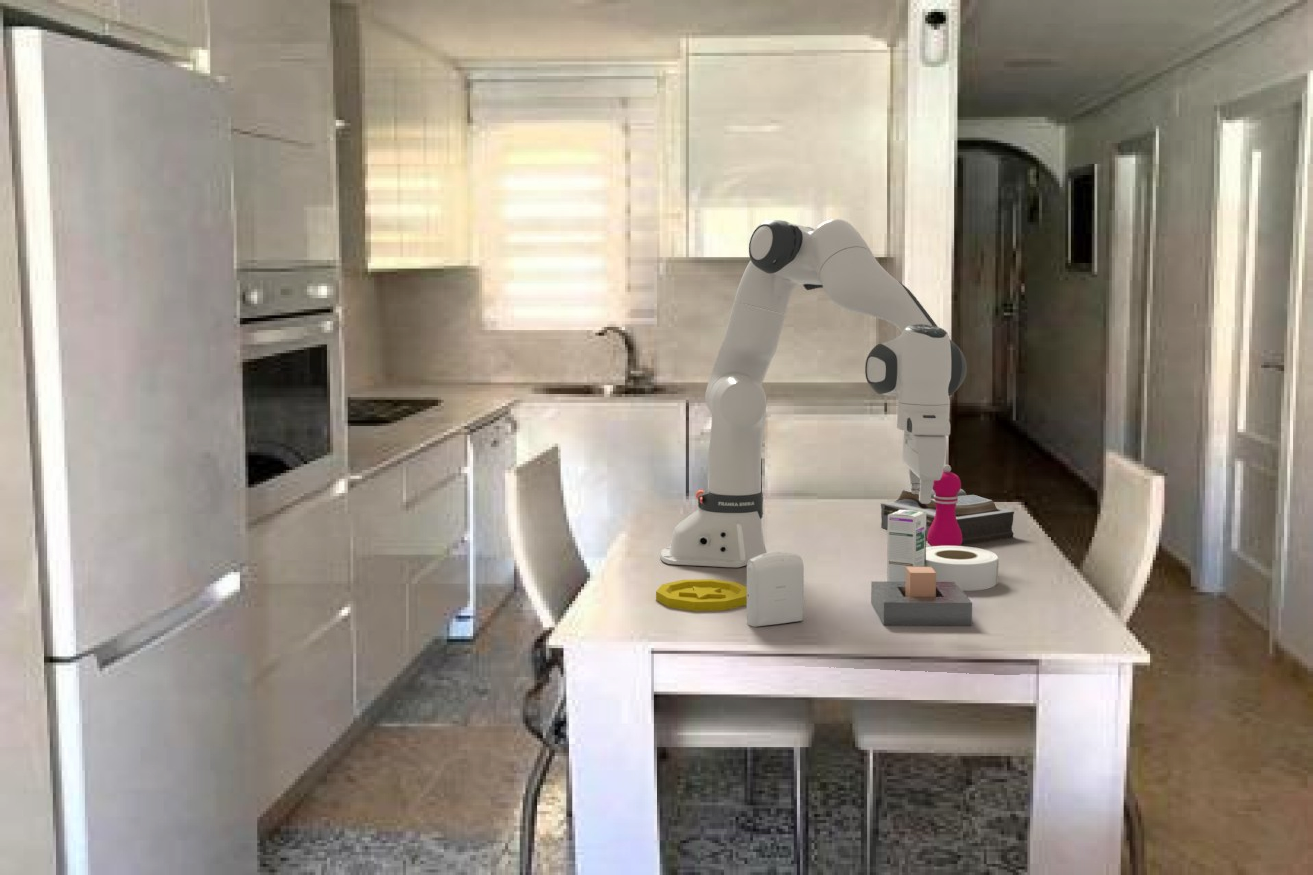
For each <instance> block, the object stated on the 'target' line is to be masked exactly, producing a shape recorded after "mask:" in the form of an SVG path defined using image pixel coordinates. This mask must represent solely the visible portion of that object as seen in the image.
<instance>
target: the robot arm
mask: <svg viewBox="0 0 1313 875" xmlns="http://www.w3.org/2000/svg"><path fill="white" fill-rule="evenodd" d="M748 254H749V260H750V261H749V262H748V264H747V266H746V268H745V269H744V272H743V275H742V276H741V279H740V281H739V284H738V287H737V290H736V293H735V297H734V299H733V303H732V305H731V306H732V307H731V310H730V314H729V317H728V322H727V326H726V330H725V334H724V336H723V340H722V342H721V346H720V348H719V350H718V352H717V356H716V358H715V362H714V365H713V368H712V371H711V373H710V377H709V379H708V383H707V386H706V390H705V396H704V398H705V404H706V407H707V409H708V411H709V412H710V413H711V427H710V440H709V448H708V454H707V456H708V457H707V458H708V460H707V463H708V464H707V465H708V466H707V490H706V491H704V490H703V489H699V490H697V491H696V493H695V497H696V499H697V507H698V509H697V510H694V512H693V513H691V514H690V515H689V516H687V517H685V519H683V520H682V521H680V522H679V523H677V525H676V526H675V528H674V530H673V532H672V535H671V541H670V545H669V546H666V547H664V548H662V550H661V551H660V560H661V561H662V562H663V563H665V564H668V565H676V566H677V565H679V566H701V567H716V568H717V567H720V568H741V567H744V566H745V567H746V566H747V563H748V561H749V560H750V559H752V558H754V557H756V556H758V555H761V554H764V553H768V552H767V549H766V544H765V540H764V539H765V537H764V532H763V524H762V523H763V522H762V520H763V515H764V492H763V491H762V453H763V443H764V437H765V436H764V435H765V427H766V417H767V416H766V415H767V404H768V402H767V401H768V400H767V395H766V392H765V388H764V387H763V383H764V380H765V377H766V374H767V372H768V369H769V368H770V364H771V362H772V360H773V359H774V358H773V357H774V356H775V354H776V352H777V348H778V344H779V341H780V337H781V334H782V330H783V328H784V327H783V326H784V322H785V319H786V315H787V310H788V307H789V302H790V299H791V296H792V293H793V292H794V290H795V289H796V288H798V287H800V286H802V285H803V287H804V289H805V290H806V291H811V290H816V289H821V288H823V289H824V292H825V294H826V295H827V297H828V298H829V299H830V300H831V301H832V302H833V303H834V304H835V305H836V306H837V307H838V308H840V309H842V310H844V311H846V312H849V313H853V314H860V315H865V316H868V317H872V318H873V317H874V318H877V319H880V320H882V321H885V322H888V323H890V324H892V325H893V326H895V327H896V328H897V329H898V330H899V332H901V334H900V335H898V336H897V337H895V338H893V339H891V340H888V341H886V342H882V343H878V344H876V345H874V347H873V348H872V349H871V350H870V351H869V353H868V354H867V357H866V360H865V365H864V366H865V367H864V368H865V370H864V371H865V373H864V374H865V379H866V381H867V383H868V385H869V387H870V388H871V389H872V390H873V391H874V392H876V393H877V394H878V395H883V396H896V397H897V396H898V399H897V417H896V418H897V420H896V421H897V423H896V428H897V429H898V430H900V431H901V430H902V431H903V440H902V463H903V464H904V465H905V466H906V467H907V468H908V477H909V478H908V479H909V490H910V492H911V493H912V494H919V501H920V502H921V503H922V504H929V503H930V502H931V493H932V489H933V484H934V480H940V479H941V477H942V473H943V468H944V465H945V457H946V452H947V451H946V449H947V436H950V435H951V422H950V413H951V412H950V410H951V407H950V404H951V400H950V396H951V395H953V394H954V393H955V392H956V391H958V389H959V388H960V387H961V385H962V384H963V383H964V381H965V378H966V376H967V371H968V366H967V361H966V357H965V356H964V353H963V352H962V350H961V348H960V347H959V346H958V345H957V344H956V343H955V342H954V341H953V340H951V339H950V336H949V333H948V332H947V331H946V330H944V328H942V327H939V326H938V325H937V324H936V322H935V321H934V320H933V319H932V316H931V315H930V314H929V313H928V312H927V310H926V309H925V308H924V306H923V305H922V303H921V302H920V301H919V300H918V298H916V296H915V295H914V294H913V293H912V291H911V290H910V289H909V287H907V286H906V285H904V284H903V283H901V282H900V281H898V280H897V279H896V278H894V277H893V276H892V275H891V274H890V273H888V271H887V270H886V269H885V268H884V267H883V266H882V265H881V264H880V263H879V261H877V259H876V257H875V256H874V253H873V252H872V251H871V249H870V247H869V245H868V243H867V242H866V241H865V239H864V238H863V237H862V235H861V234H860V233H859V232H858V231H857V229H856V228H855V227H854V226H853V225H852V224H851V223H849V222H848V221H846V220H844V219H841V218H839V219H838V218H833V219H829V220H825V221H824V222H822V223H820V224H818V225H817V226H816V227H815V228H813V227H811V226H803V225H800V224H794V223H790V222H788V221H786V220H781V219H770V220H769V219H767V220H765V221H763V222H761V223H760V224H759V225H758V226H757V227H756V228H755V230H754V231H753V232H752V234H751V237H750V240H749V244H748Z"/></svg>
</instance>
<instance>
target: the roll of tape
mask: <svg viewBox="0 0 1313 875" xmlns="http://www.w3.org/2000/svg"><path fill="white" fill-rule="evenodd" d="M999 560H1000V559H999V556H998V555H997V553H994V552H993V551H991V550H987V549H984V548H979V547H972V546H963V545H960V546H932V547H931V546H926V567H932V568H933V570H934V571H935V572H936V582H955V583H956V585H957V586H958V587H959V588H960V589H961V590H962V592H964V591H967V592H969V591H982V590H987V589H990V588H994V587H995V586H996V585H998V584H999V564H1000V562H999Z"/></svg>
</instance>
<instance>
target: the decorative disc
mask: <svg viewBox="0 0 1313 875" xmlns="http://www.w3.org/2000/svg"><path fill="white" fill-rule="evenodd" d="M655 600H656V601H657V602H658V603H661V604H662V605H663V606H665V607H667V608H673V609H677V610H679V609H680V610H686V611H692V612H705V611H706V612H708V611H710V612H711V611H713V612H715V611H727V610H731V609H735V608H736V609H737V608H739V607H744V606H747V586H745V585H744V584H741V583H738V582H736V581H735V582H734V581H728V580H721V579H715V578H714V579H713V578H706V579H705V578H704V579H703V578H701V579H696V578H695V579H680V580H675V581H671V582H667V583H662V584H661V585H659V587H658V589H656V590H655Z"/></svg>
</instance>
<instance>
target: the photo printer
mask: <svg viewBox="0 0 1313 875" xmlns="http://www.w3.org/2000/svg"><path fill="white" fill-rule="evenodd" d="M804 568H805V567H804V561H803V558H802V557H801V555H800V554H799V555H798V554H797V553H795V552H789V551H769V552H767V553H764V554H761V555H758V556H756V557H754V558H752V559H750V560H749V561H748V563H747V565H746V587H747V604H746V620H747V621H746V622H747V624H748V626H751V627H753V628H755V627H757V628H758V627H763V626H770V625H771V626H773V625H781V624H787V623H794V622H795V623H796V622H802V621H803V620H804V601H805V600H804V597H805V596H804V592H805V591H804V590H805V589H804V588H805V587H804V586H805V584H804V583H805V582H804V580H805V576H804V573H805V572H804V571H805V570H804Z"/></svg>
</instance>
